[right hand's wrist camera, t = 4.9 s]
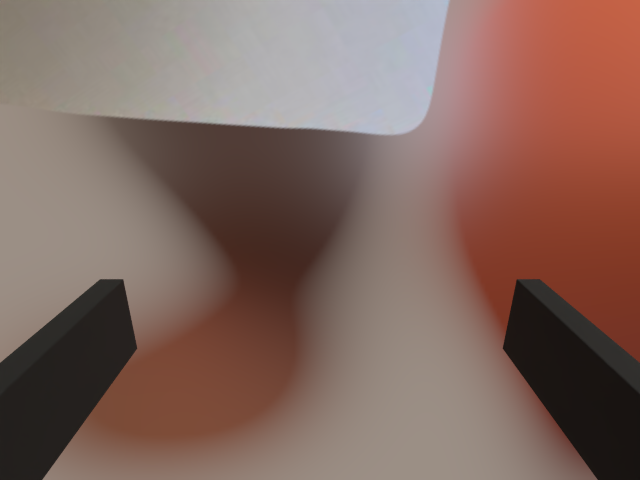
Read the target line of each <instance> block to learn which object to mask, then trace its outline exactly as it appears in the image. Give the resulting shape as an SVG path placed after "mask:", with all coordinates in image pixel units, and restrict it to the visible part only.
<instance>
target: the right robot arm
mask: <svg viewBox="0 0 640 480" xmlns="http://www.w3.org/2000/svg"><path fill="white" fill-rule="evenodd" d="M136 349H137V345H136V340H135V336H134V331H133V326H132V321H131V316H130V311H129V306H128V301H127V296H126V291H125V286H124V281H123V279H101V280H99V281H98V282H96V283H95V284H94V285H93V286H92V287H91V288H89V289H88V290H87V291H86V292H85V293H83V294H82V295H81V296H80V297H79V298H77V299H76V300H75V301H74V302H73V303H71V304H70V305H69V306H68V307H67V308H65V309H64V310H63V311H62V312H61V313H59V314H58V315H57V316H56V317H55V318H53V319H52V320H51V321H50V322H49V323H47V324H46V325H45V326H44V327H43V328H42V329H40V330H39V331H38V332H37V333H35V334H34V335H33V336H32V337H31V338H30V339H28V340H27V341H26V342H25V343H24V344H22V345H21V346H20V347H19V348H18V349H16V350H15V351H14V352H13V353H12V354H10V355H9V356H8V357H7V358H6V359H4V360H3V361H2V362H1V363H0V480H42V479H43V478H44V477H45V475H46V474H47V472H48V471H49V470H50V468H51V467H52V465H53V464H54V463H55V461H56V460H57V459H58V457H59V456H60V454H61V453H62V452H63V450H64V449H65V447H66V446H67V445H68V443H69V442H70V441H71V439H72V438H73V436H74V435H75V434H76V432H77V431H78V430H79V428H80V427H81V425H82V424H83V423H84V421H85V420H86V418H87V417H88V416H89V414H90V413H91V412H92V410H93V409H94V407H95V406H96V405H97V403H98V402H99V401H100V399H101V398H102V396H103V395H104V393H105V392H106V391H107V389H108V388H109V387H110V385H111V384H112V383H113V381H114V380H115V378H116V377H117V376H118V374H119V373H120V371H121V370H122V369H123V367H124V366H125V365H126V363H127V362H128V360H129V359H130V358H131V356H132V355H133V354H134V352H135V351H136ZM503 349H504V351H505V352H506V354H507V355H508V356H509V358H510V359H511V360H512V362H513V363H514V364H515V366H516V367H517V369H518V370H519V371H520V373H521V374H522V376H523V377H524V378H525V380H526V381H527V382H528V384H529V385H530V387H531V388H532V389H533V391H534V392H535V394H536V395H537V396H538V398H539V399H540V401H541V402H542V403H543V405H544V406H545V407H546V409H547V410H548V411H549V413H550V414H551V416H552V417H553V418H554V420H555V421H556V423H557V424H558V425H559V427H560V428H561V429H562V431H563V432H564V434H565V435H566V436H567V438H568V439H569V441H570V442H571V443H572V445H573V446H574V448H575V449H576V450H577V452H578V453H579V454H580V456H581V457H582V459H583V460H584V461H585V463H586V464H587V465H588V467H589V468H590V470H591V471H592V472H593V474H594V475H595V477H596V478H597V479H598V480H640V363H639V362H638V361H637V360H636V359H634V358H633V357H632V356H631V355H630V354H628V353H627V352H626V351H625V350H624V349H622V348H621V347H620V346H619V345H618V344H617V343H615V342H614V341H613V340H612V339H610V338H609V337H608V336H607V335H606V334H604V333H603V332H602V331H601V330H600V329H599V328H597V327H596V326H595V325H594V324H593V323H591V322H590V321H589V320H588V319H587V318H585V317H584V316H583V315H582V314H581V313H579V312H578V311H577V310H576V309H575V308H573V307H572V306H571V305H570V304H569V303H567V302H566V301H565V300H564V299H563V298H561V297H560V296H559V295H558V294H557V293H555V292H554V291H553V290H552V289H551V288H549V287H548V286H547V285H546V284H545V283H543V282H542V281H541V280H540V279H517V281H516V286H515V291H514V296H513V301H512V306H511V311H510V316H509V321H508V326H507V331H506V336H505V340H504V345H503Z"/></svg>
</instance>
